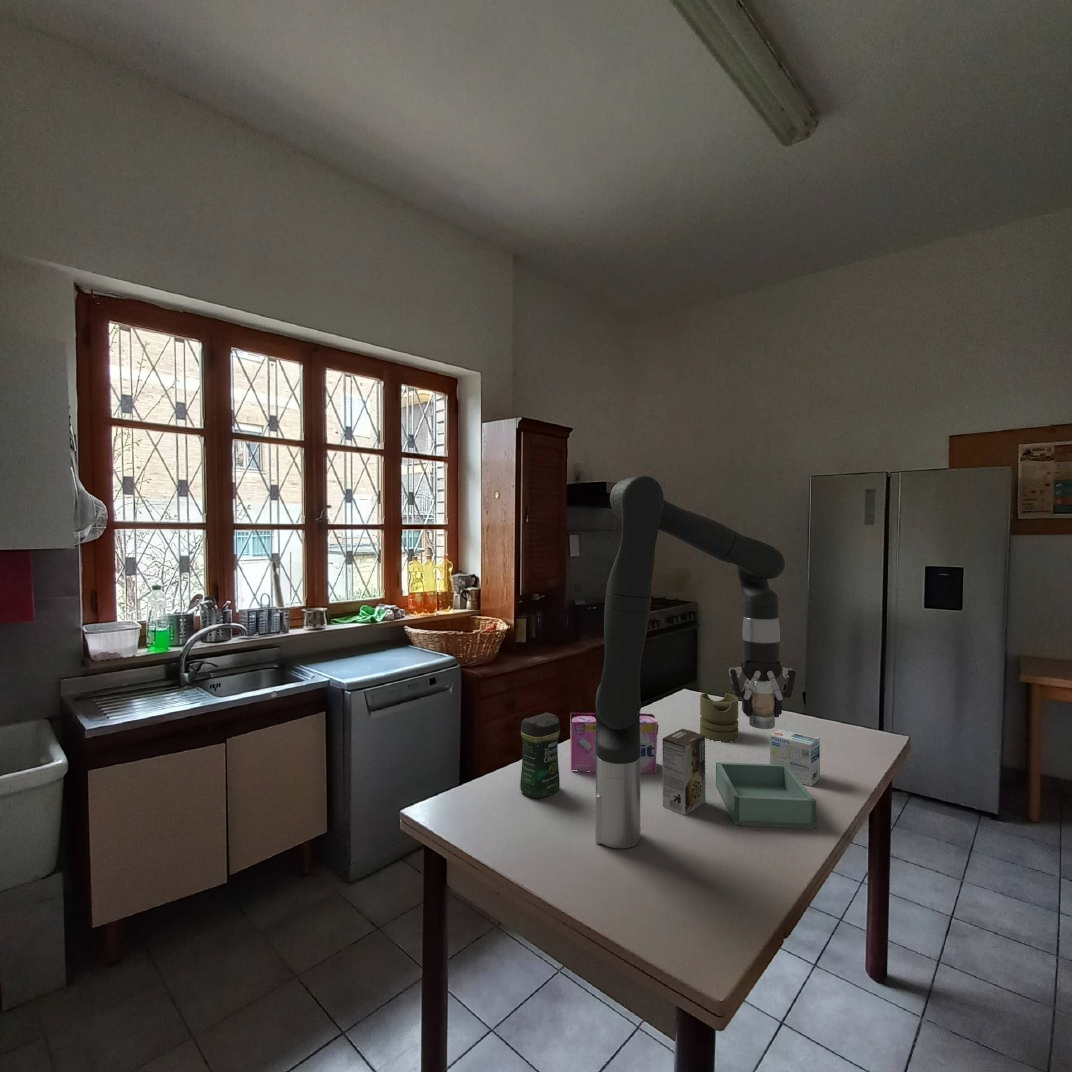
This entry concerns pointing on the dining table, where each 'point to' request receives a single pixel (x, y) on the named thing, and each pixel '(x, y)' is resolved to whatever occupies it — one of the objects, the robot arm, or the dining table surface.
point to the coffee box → (683, 771)
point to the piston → (719, 718)
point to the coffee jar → (540, 755)
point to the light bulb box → (797, 754)
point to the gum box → (586, 742)
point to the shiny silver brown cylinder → (762, 705)
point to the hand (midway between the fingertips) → (761, 715)
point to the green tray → (765, 795)
